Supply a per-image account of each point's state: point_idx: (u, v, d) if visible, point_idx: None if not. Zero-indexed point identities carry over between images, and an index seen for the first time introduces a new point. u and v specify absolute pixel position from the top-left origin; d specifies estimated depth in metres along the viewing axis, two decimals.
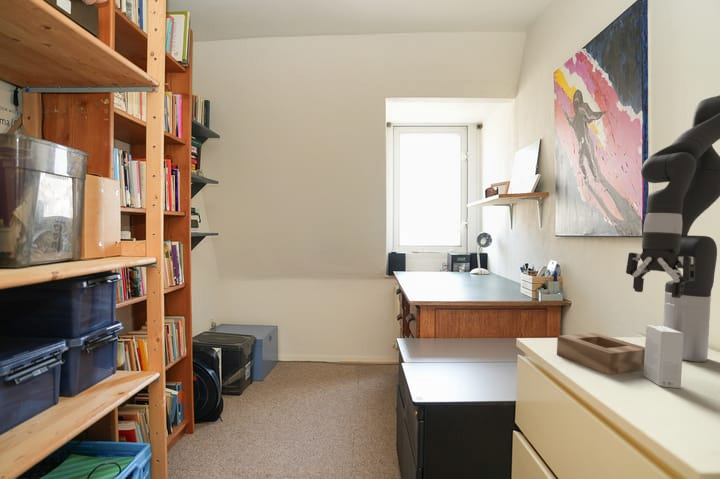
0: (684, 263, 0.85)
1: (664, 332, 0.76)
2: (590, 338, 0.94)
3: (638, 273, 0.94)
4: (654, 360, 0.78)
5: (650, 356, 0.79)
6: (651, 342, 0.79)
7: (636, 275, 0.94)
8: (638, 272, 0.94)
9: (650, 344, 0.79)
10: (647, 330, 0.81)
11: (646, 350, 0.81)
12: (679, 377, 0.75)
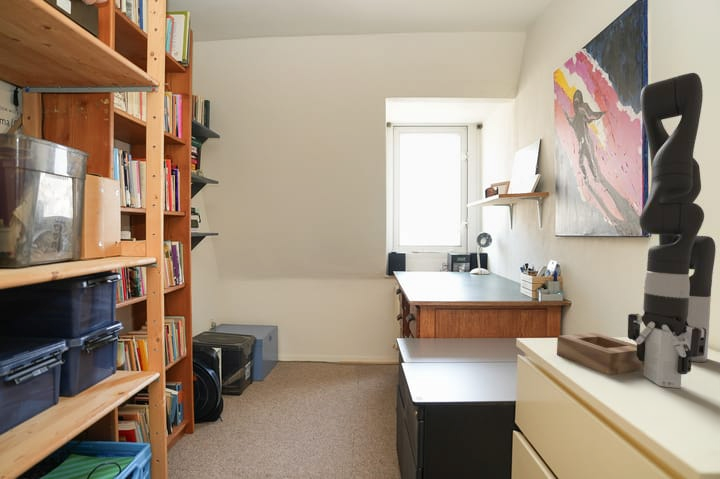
0: (693, 336, 0.72)
1: (664, 332, 0.76)
2: (590, 338, 0.94)
3: (642, 340, 0.81)
4: (654, 360, 0.78)
5: (650, 356, 0.79)
6: (651, 342, 0.79)
7: (640, 342, 0.82)
8: (642, 339, 0.81)
9: (650, 344, 0.79)
10: None
11: (646, 350, 0.81)
12: (679, 377, 0.75)
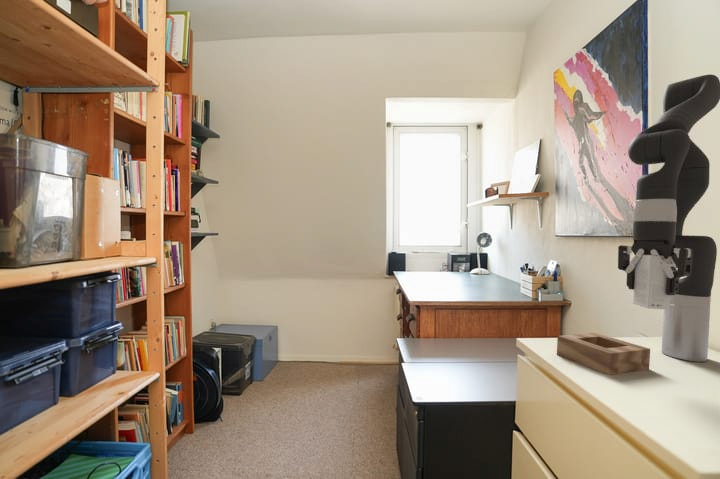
0: (680, 256, 0.75)
1: (653, 256, 0.78)
2: (590, 338, 0.94)
3: (631, 268, 0.84)
4: (644, 284, 0.80)
5: (639, 282, 0.82)
6: (640, 269, 0.82)
7: (629, 271, 0.84)
8: (631, 267, 0.84)
9: (639, 271, 0.82)
10: None
11: (635, 278, 0.83)
12: (667, 299, 0.78)
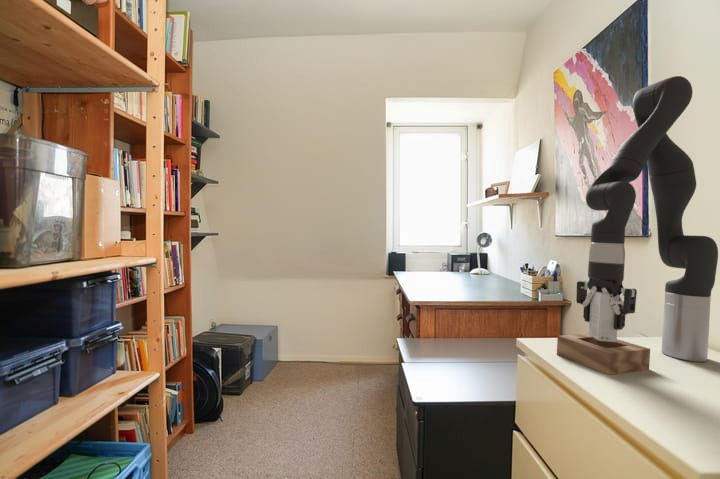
0: (625, 296, 0.84)
1: (603, 294, 0.87)
2: (590, 338, 0.94)
3: (587, 303, 0.93)
4: (596, 319, 0.89)
5: (593, 316, 0.91)
6: (594, 304, 0.91)
7: (585, 305, 0.93)
8: (587, 302, 0.93)
9: (593, 306, 0.91)
10: None
11: (590, 312, 0.93)
12: (615, 332, 0.87)
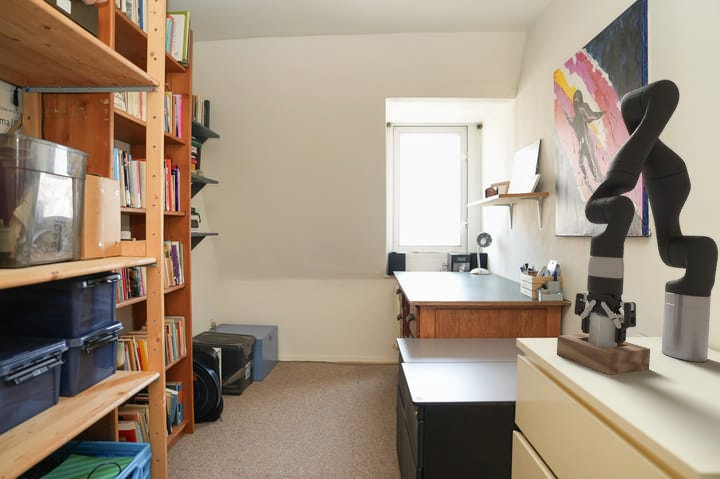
0: (625, 309, 0.84)
1: (602, 318, 0.88)
2: None
3: (585, 315, 0.93)
4: (595, 342, 0.89)
5: (592, 339, 0.91)
6: (593, 327, 0.91)
7: (583, 317, 0.94)
8: (585, 314, 0.93)
9: (592, 329, 0.91)
10: (591, 317, 0.93)
11: (589, 334, 0.93)
12: None
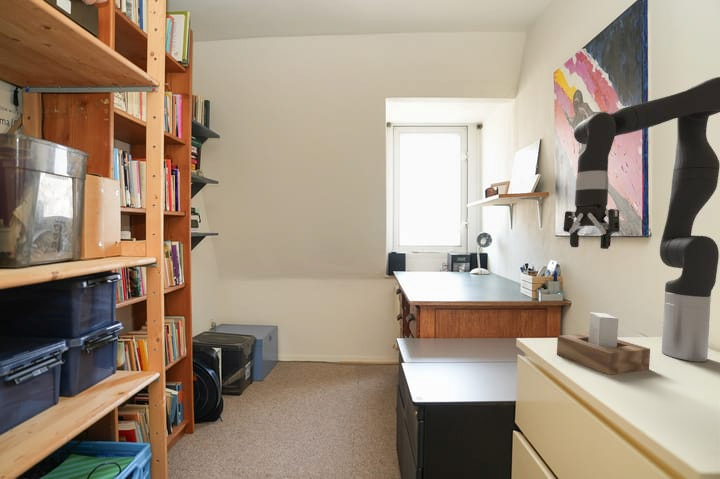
0: (609, 216, 0.91)
1: (602, 318, 0.88)
2: None
3: (573, 229, 1.00)
4: (595, 342, 0.90)
5: (592, 339, 0.91)
6: (593, 327, 0.91)
7: (571, 232, 1.01)
8: (573, 229, 1.00)
9: (592, 329, 0.91)
10: (590, 317, 0.93)
11: (589, 334, 0.93)
12: None
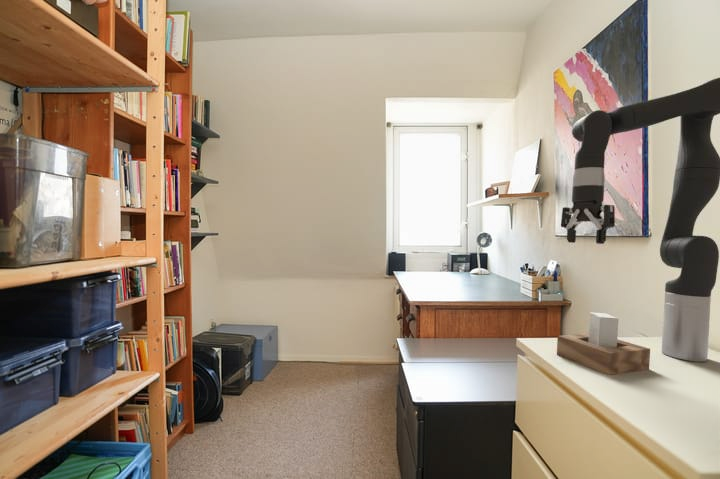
0: (604, 211, 0.93)
1: (602, 318, 0.88)
2: None
3: (570, 225, 1.03)
4: (595, 342, 0.90)
5: (592, 339, 0.91)
6: (593, 327, 0.91)
7: (568, 227, 1.03)
8: (570, 224, 1.03)
9: (592, 329, 0.91)
10: (590, 317, 0.93)
11: (589, 334, 0.93)
12: None
